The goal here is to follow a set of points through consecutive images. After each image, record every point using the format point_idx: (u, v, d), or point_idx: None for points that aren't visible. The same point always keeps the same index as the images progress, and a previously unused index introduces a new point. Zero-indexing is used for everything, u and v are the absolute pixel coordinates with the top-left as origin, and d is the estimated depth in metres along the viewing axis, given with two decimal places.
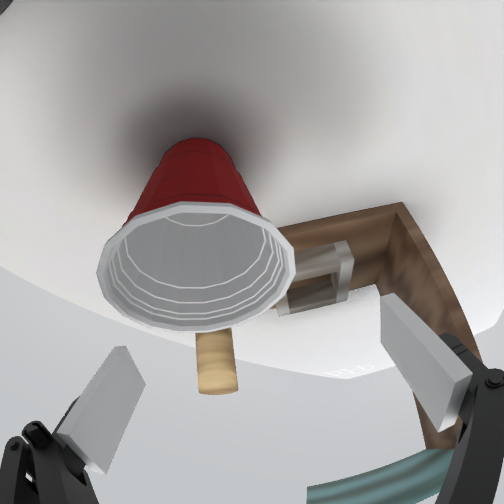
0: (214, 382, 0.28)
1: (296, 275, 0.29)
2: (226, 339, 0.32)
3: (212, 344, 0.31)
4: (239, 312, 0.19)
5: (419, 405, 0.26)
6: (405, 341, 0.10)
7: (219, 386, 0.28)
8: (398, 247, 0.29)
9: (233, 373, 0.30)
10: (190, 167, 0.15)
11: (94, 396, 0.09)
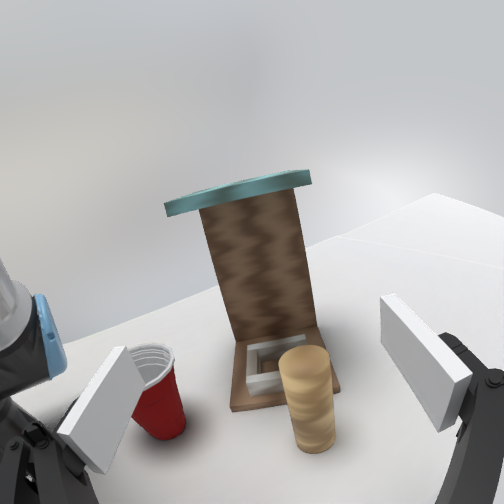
0: None
1: (249, 369, 0.37)
2: None
3: None
4: None
5: (292, 221, 0.44)
6: (405, 341, 0.10)
7: (280, 360, 0.24)
8: (252, 328, 0.49)
9: None
10: None
11: (94, 396, 0.09)
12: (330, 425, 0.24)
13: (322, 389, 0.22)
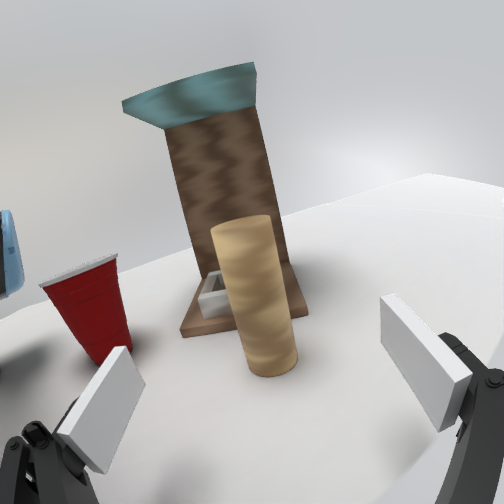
0: None
1: (204, 289, 0.35)
2: None
3: None
4: None
5: (257, 145, 0.42)
6: (405, 341, 0.10)
7: (214, 227, 0.22)
8: None
9: None
10: None
11: (94, 396, 0.09)
12: (283, 328, 0.22)
13: (262, 256, 0.20)
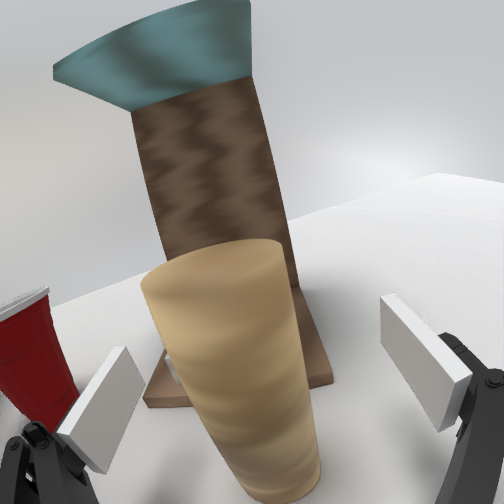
0: None
1: None
2: None
3: None
4: None
5: (255, 127, 0.29)
6: (405, 341, 0.10)
7: None
8: None
9: None
10: None
11: (94, 396, 0.09)
12: (303, 455, 0.09)
13: (262, 354, 0.07)
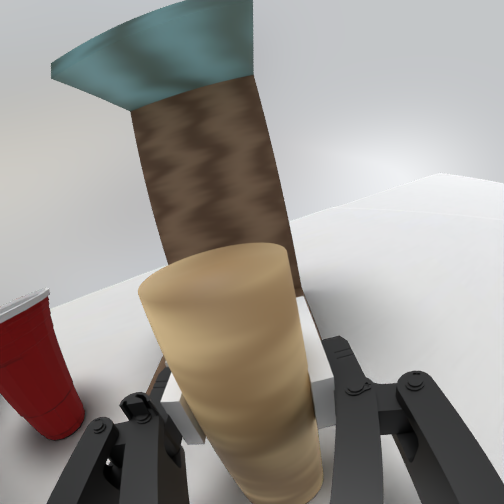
0: None
1: None
2: None
3: None
4: None
5: (256, 127, 0.29)
6: None
7: None
8: None
9: None
10: None
11: None
12: (306, 464, 0.09)
13: (266, 364, 0.07)
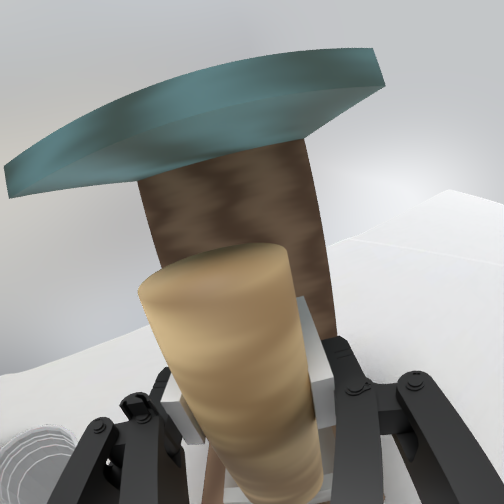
0: None
1: (229, 475, 0.17)
2: None
3: None
4: None
5: (307, 213, 0.24)
6: None
7: None
8: None
9: None
10: (45, 487, 0.12)
11: None
12: (306, 464, 0.09)
13: (266, 365, 0.07)
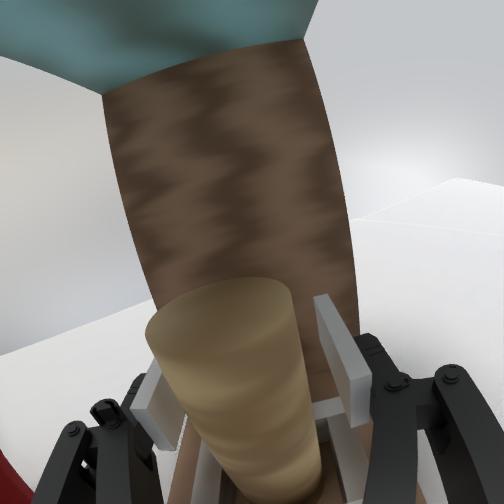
0: None
1: (198, 497, 0.10)
2: None
3: None
4: None
5: (312, 121, 0.17)
6: (327, 339, 0.12)
7: None
8: None
9: None
10: None
11: None
12: (308, 478, 0.09)
13: (271, 404, 0.07)
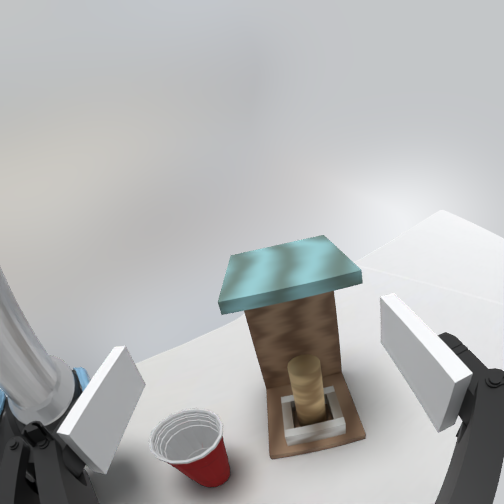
0: (288, 369, 0.37)
1: (286, 423, 0.38)
2: None
3: None
4: (219, 425, 0.32)
5: None
6: (405, 341, 0.10)
7: (288, 364, 0.37)
8: (282, 377, 0.50)
9: None
10: (175, 451, 0.33)
11: (94, 396, 0.09)
12: (322, 409, 0.37)
13: (315, 383, 0.35)
